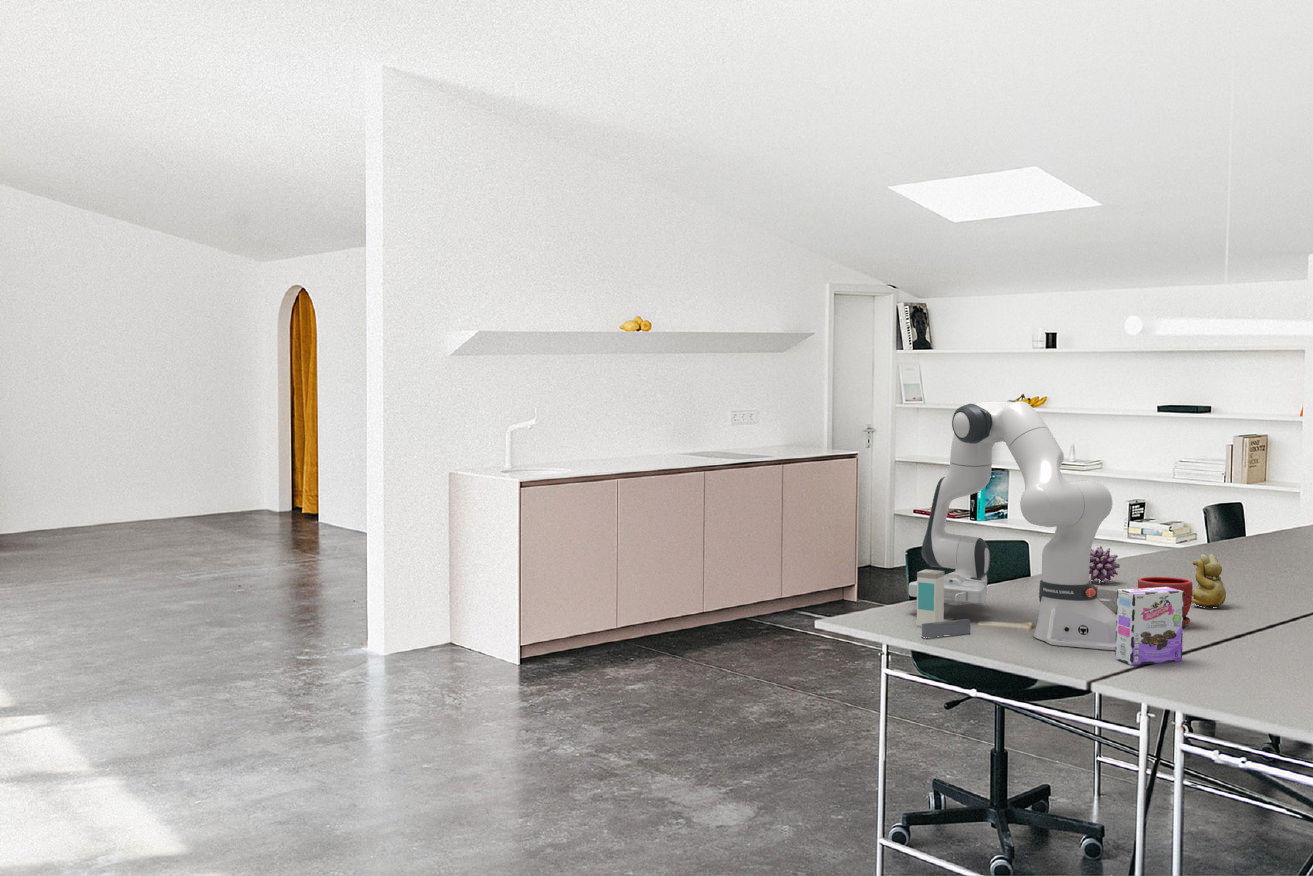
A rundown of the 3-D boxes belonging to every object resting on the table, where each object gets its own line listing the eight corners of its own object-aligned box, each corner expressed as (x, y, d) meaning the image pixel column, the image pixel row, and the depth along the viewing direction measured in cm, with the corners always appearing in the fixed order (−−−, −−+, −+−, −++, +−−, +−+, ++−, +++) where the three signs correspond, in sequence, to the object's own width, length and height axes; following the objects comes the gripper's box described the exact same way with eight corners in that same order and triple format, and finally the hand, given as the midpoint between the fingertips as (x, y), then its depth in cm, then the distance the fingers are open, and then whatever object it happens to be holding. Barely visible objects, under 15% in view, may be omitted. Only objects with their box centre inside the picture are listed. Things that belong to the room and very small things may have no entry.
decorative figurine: (1204, 603, 328) (1205, 551, 327) (1233, 607, 321) (1234, 554, 320) (1186, 607, 322) (1187, 554, 321) (1215, 611, 315) (1216, 557, 315)
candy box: (1131, 665, 255) (1132, 592, 254) (1114, 659, 261) (1115, 588, 260) (1183, 662, 259) (1184, 590, 258) (1165, 655, 264) (1166, 585, 263)
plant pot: (1195, 623, 300) (1196, 578, 300) (1186, 632, 289) (1187, 585, 289) (1142, 617, 308) (1143, 573, 307) (1132, 626, 297) (1133, 580, 296)
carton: (943, 624, 298) (944, 571, 298) (935, 628, 293) (935, 574, 293) (925, 621, 301) (925, 569, 301) (916, 625, 296) (916, 572, 296)
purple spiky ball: (1079, 585, 356) (1080, 547, 356) (1081, 579, 367) (1081, 542, 367) (1119, 588, 352) (1120, 549, 351) (1119, 581, 363) (1120, 544, 362)
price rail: (921, 637, 283) (921, 623, 282) (965, 632, 289) (965, 618, 288) (925, 639, 281) (925, 625, 281) (970, 633, 287) (970, 619, 287)
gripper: (919, 573, 317) (899, 580, 306) (991, 580, 306) (974, 588, 294) (919, 596, 318) (899, 603, 306) (991, 604, 306) (973, 612, 295)
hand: (936, 596), depth 300 cm, fingers open, 8 cm apart
